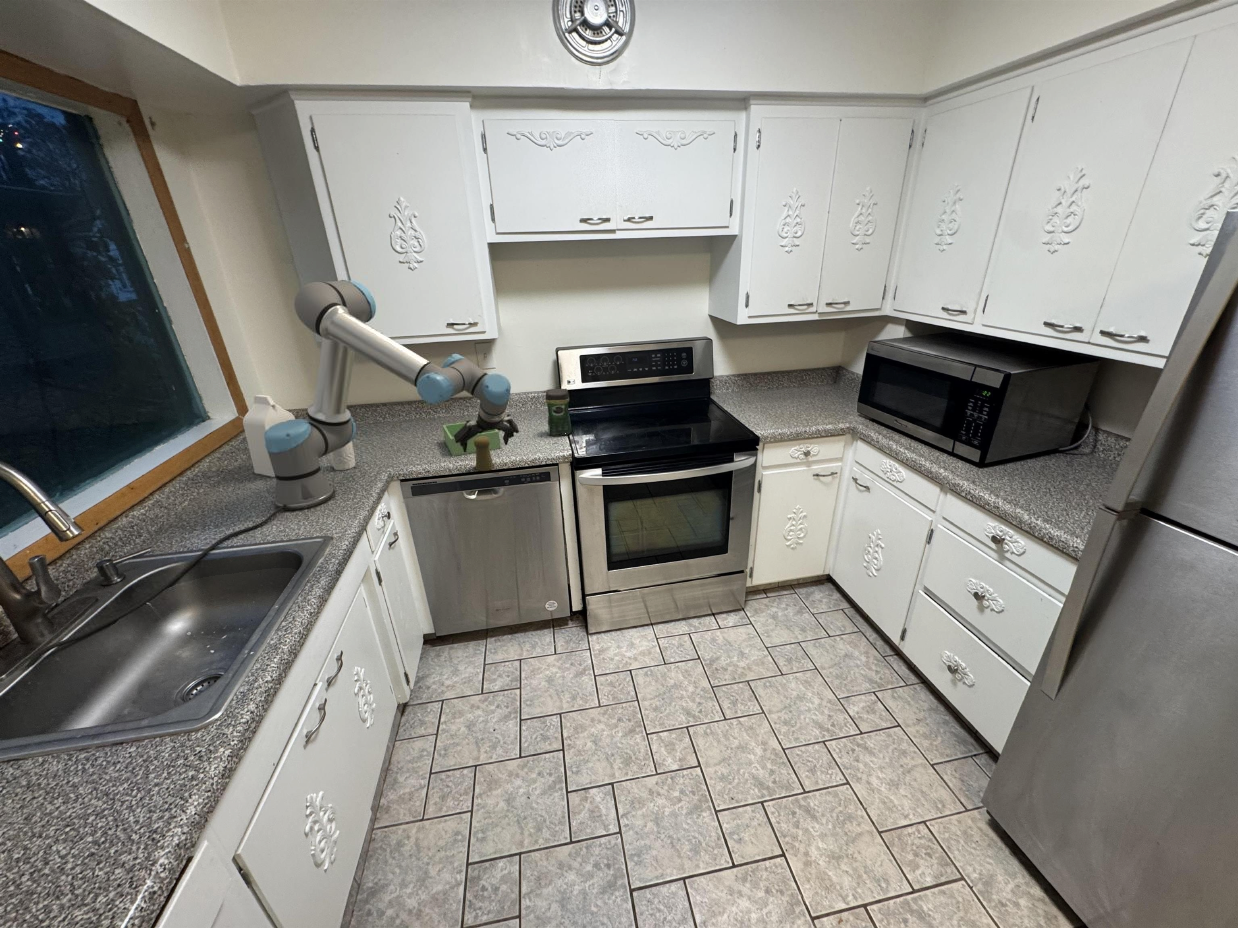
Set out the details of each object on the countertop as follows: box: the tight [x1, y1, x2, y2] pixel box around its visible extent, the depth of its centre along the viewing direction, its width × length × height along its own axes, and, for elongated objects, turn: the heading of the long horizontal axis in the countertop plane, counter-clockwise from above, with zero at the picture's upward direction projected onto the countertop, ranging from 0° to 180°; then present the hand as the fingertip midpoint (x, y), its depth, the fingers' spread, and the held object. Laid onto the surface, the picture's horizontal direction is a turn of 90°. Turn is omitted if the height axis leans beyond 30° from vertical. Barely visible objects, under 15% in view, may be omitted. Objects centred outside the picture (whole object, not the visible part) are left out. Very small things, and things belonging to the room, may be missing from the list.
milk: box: [242, 394, 296, 478], centre depth 169 cm, size 12×12×26 cm
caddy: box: [442, 420, 501, 457], centre depth 194 cm, size 18×18×7 cm
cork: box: [474, 436, 495, 472], centre depth 172 cm, size 6×6×11 cm
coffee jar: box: [544, 388, 572, 437], centre depth 203 cm, size 10×8×19 cm
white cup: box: [328, 440, 356, 471], centre depth 174 cm, size 8×8×10 cm
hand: (484, 445), depth 167 cm, fingers open, 13 cm apart
